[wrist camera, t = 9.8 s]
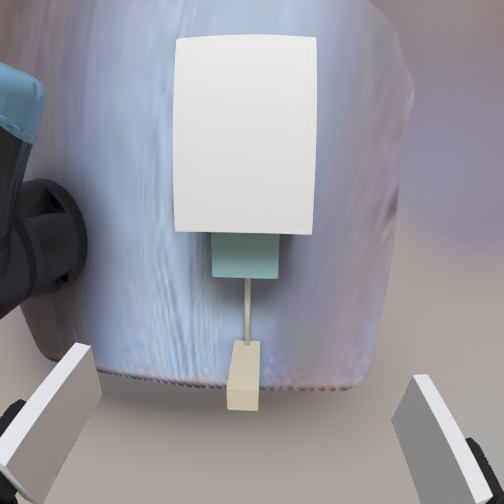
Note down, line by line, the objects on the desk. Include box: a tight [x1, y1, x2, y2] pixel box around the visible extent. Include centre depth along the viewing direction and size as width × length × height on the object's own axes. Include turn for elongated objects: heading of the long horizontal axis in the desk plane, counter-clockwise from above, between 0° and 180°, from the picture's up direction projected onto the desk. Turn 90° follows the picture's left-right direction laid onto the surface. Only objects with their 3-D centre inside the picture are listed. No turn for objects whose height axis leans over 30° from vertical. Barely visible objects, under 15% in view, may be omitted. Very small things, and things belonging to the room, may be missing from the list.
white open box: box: [173, 35, 317, 235], centre depth 26 cm, size 10×15×10 cm
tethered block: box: [211, 232, 280, 411], centre depth 32 cm, size 6×20×9 cm, turn 179°
